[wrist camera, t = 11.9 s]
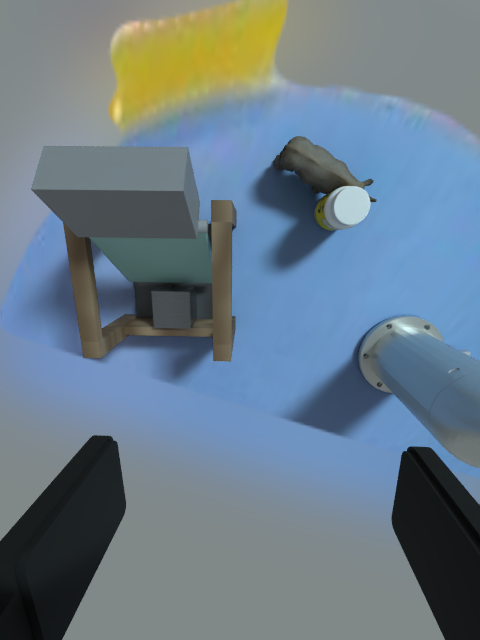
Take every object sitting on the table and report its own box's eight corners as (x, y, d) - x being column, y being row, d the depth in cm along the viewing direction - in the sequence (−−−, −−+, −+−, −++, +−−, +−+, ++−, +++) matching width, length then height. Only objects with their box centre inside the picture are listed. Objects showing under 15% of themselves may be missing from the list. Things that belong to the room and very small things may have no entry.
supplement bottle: (328, 186, 38) (350, 171, 30) (355, 207, 39) (384, 199, 31) (306, 217, 39) (321, 211, 31) (332, 237, 40) (354, 237, 32)
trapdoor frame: (236, 211, 39) (231, 200, 28) (235, 328, 44) (230, 361, 32) (114, 210, 40) (59, 198, 28) (126, 326, 44) (83, 357, 33)
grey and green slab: (197, 147, 21) (193, 191, 20) (218, 266, 39) (217, 293, 38) (34, 145, 22) (21, 189, 20) (130, 265, 40) (126, 291, 39)
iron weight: (189, 291, 37) (190, 328, 38) (196, 285, 42) (197, 318, 43) (151, 291, 37) (153, 327, 38) (162, 285, 42) (164, 317, 43)
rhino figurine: (357, 220, 39) (375, 217, 33) (269, 170, 38) (273, 158, 32) (374, 191, 38) (397, 183, 32) (284, 138, 37) (291, 120, 31)
